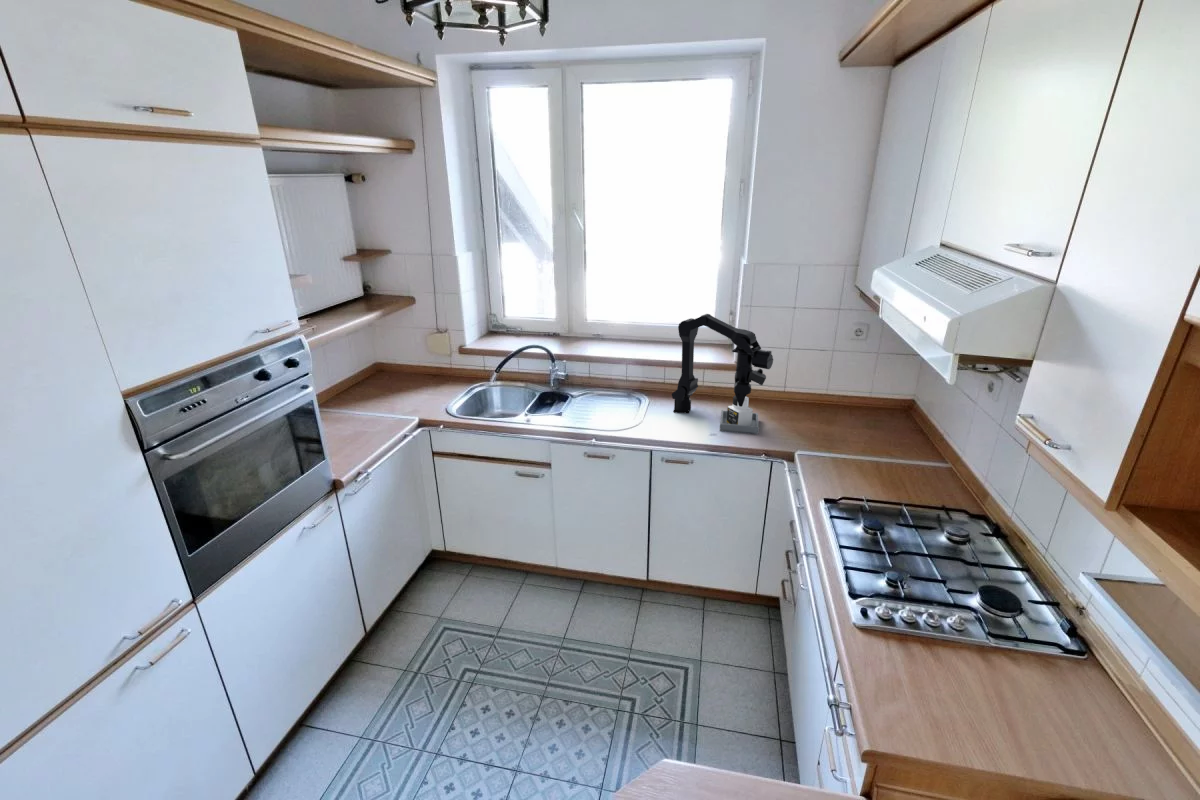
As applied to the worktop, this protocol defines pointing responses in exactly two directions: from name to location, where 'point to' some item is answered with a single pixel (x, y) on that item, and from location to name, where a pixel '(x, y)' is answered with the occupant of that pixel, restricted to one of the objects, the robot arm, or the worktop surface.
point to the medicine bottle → (739, 413)
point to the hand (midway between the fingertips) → (740, 402)
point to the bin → (739, 428)
